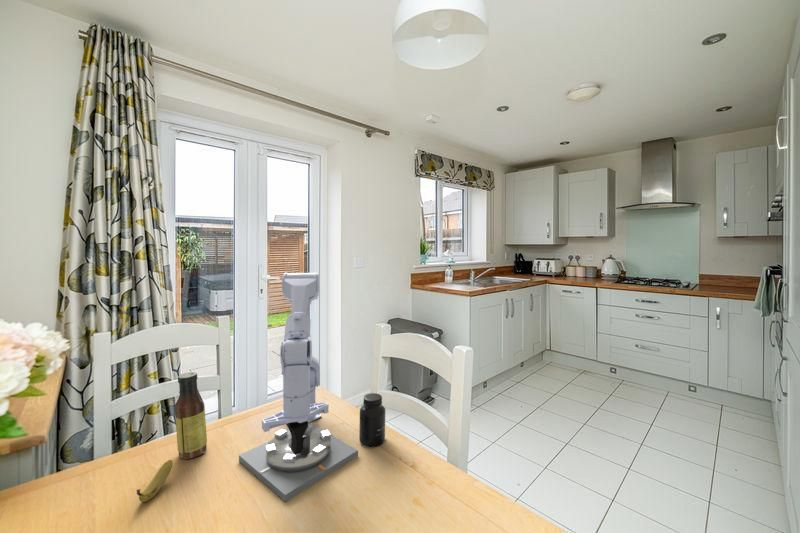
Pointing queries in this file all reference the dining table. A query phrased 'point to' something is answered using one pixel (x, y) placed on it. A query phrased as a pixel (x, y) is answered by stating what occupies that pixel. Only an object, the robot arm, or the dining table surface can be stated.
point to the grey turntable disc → (312, 454)
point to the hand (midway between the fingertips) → (296, 451)
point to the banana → (156, 482)
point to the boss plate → (296, 482)
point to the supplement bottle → (372, 421)
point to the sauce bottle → (190, 418)
